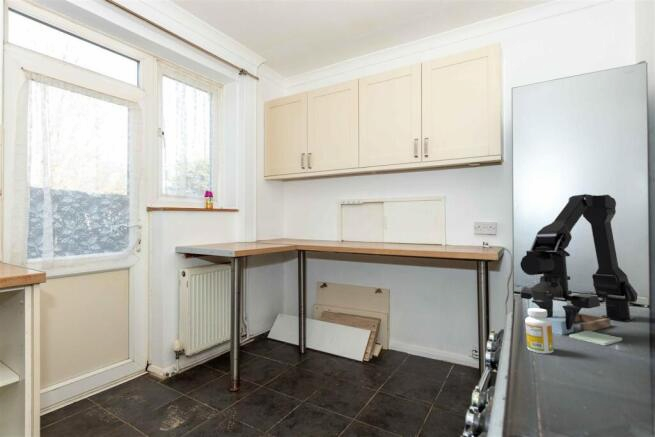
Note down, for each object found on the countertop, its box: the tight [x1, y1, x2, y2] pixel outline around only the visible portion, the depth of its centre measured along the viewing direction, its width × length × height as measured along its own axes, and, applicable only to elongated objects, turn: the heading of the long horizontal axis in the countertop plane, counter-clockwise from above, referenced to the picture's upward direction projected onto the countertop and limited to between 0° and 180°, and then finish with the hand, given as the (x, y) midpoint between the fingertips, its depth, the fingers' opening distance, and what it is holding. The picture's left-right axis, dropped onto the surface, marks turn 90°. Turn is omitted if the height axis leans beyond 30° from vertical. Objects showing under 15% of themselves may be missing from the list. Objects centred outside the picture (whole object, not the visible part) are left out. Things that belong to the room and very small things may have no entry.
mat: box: [568, 331, 623, 346], centre depth 85 cm, size 8×8×1 cm
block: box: [547, 315, 575, 336], centre depth 92 cm, size 6×4×4 cm
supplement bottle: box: [524, 307, 555, 355], centre depth 78 cm, size 5×5×10 cm
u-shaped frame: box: [561, 312, 612, 332], centre depth 96 cm, size 13×8×2 cm, turn 114°
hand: (559, 327), depth 92 cm, fingers closed on block, 5 cm apart
